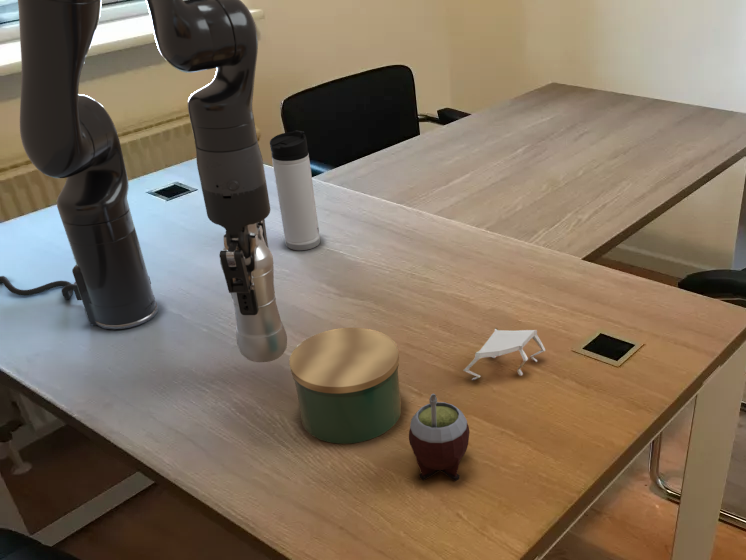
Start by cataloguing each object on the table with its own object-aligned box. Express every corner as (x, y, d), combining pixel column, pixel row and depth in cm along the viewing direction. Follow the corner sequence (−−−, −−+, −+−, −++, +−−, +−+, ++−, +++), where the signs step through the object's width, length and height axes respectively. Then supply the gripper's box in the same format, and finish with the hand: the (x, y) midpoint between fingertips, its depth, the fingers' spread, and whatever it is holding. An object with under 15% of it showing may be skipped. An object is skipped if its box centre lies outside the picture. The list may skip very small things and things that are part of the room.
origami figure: (502, 342, 121) (502, 314, 118) (547, 361, 116) (549, 332, 114) (449, 378, 113) (448, 348, 110) (496, 400, 109) (495, 370, 106)
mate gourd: (444, 441, 102) (439, 340, 93) (486, 471, 97) (485, 368, 88) (397, 467, 97) (387, 365, 89) (438, 501, 93) (432, 396, 84)
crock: (291, 446, 101) (280, 388, 95) (307, 383, 112) (298, 328, 107) (400, 443, 101) (395, 385, 96) (405, 381, 112) (401, 326, 107)
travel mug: (328, 240, 149) (315, 133, 138) (303, 253, 145) (287, 144, 133) (304, 232, 152) (288, 127, 141) (278, 245, 148) (260, 137, 136)
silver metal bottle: (277, 371, 108) (253, 234, 97) (231, 364, 109) (202, 228, 98) (297, 346, 113) (277, 213, 102) (252, 340, 114) (227, 207, 103)
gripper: (216, 158, 102) (238, 275, 112) (184, 203, 91) (212, 330, 100) (275, 158, 103) (293, 275, 112) (252, 203, 91) (273, 329, 101)
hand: (255, 300), depth 106 cm, fingers closed on silver metal bottle, 6 cm apart
